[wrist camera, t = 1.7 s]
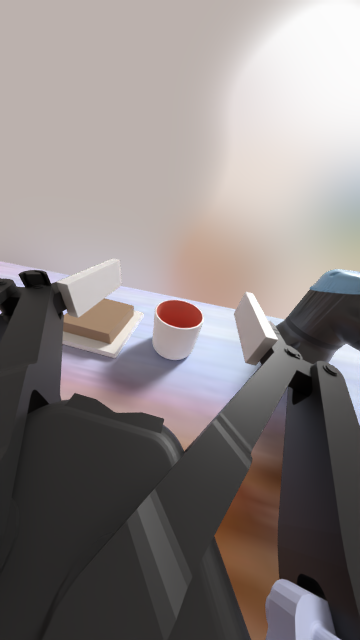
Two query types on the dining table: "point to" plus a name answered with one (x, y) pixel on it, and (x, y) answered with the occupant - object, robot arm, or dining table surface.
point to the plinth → (102, 345)
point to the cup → (176, 328)
